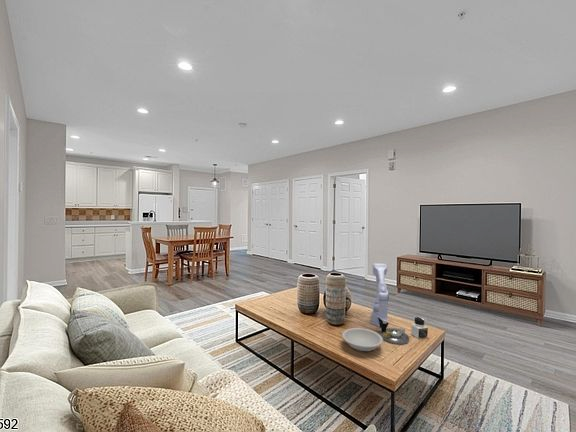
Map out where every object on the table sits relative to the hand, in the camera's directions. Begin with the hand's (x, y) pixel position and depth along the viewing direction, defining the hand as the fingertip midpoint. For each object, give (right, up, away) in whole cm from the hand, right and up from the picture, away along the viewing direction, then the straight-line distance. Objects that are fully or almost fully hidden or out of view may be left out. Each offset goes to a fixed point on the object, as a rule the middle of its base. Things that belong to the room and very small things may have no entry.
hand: (382, 329), depth 185 cm
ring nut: (+6, -2, -5) cm, 8 cm away
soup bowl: (-18, -4, -17) cm, 26 cm away
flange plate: (+6, -3, -5) cm, 8 cm away
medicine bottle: (+24, -4, -2) cm, 24 cm away
